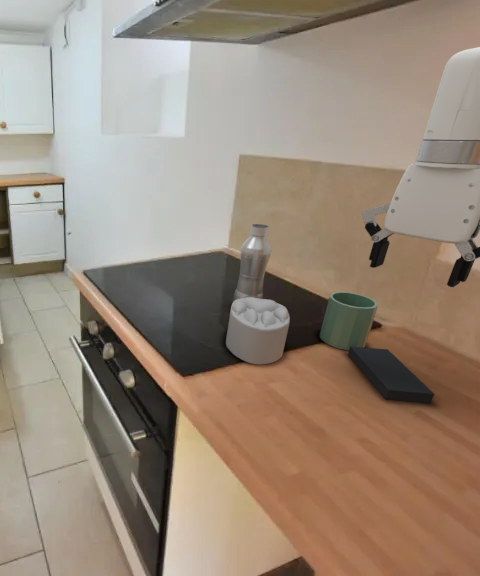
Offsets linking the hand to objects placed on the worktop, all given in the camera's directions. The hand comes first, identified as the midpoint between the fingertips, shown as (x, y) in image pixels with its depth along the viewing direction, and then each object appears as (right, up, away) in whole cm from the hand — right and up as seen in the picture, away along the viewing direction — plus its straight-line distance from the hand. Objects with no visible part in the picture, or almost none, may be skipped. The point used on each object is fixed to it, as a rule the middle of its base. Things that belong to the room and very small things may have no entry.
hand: (412, 274), depth 57 cm
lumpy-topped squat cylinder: (-17, -14, +17) cm, 27 cm away
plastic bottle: (-12, -7, +32) cm, 35 cm away
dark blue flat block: (+2, -17, +8) cm, 19 cm away
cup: (+2, -13, +19) cm, 23 cm away
